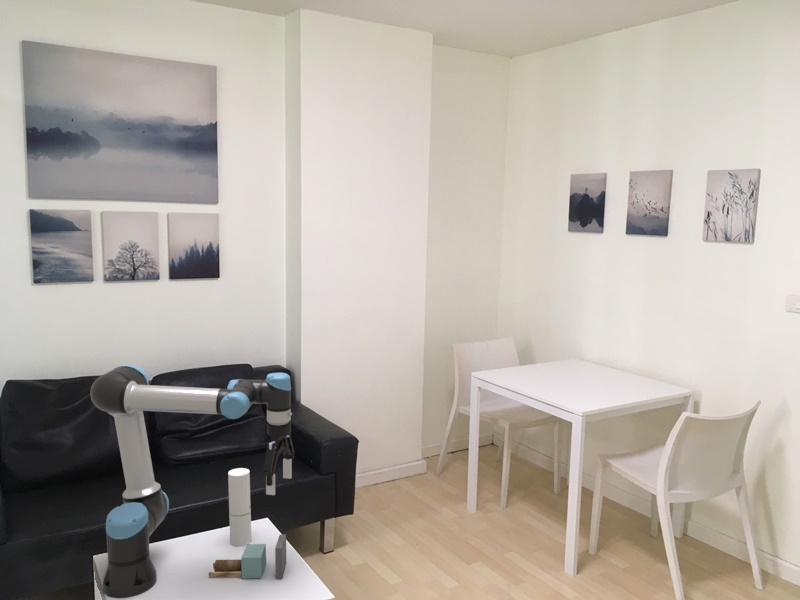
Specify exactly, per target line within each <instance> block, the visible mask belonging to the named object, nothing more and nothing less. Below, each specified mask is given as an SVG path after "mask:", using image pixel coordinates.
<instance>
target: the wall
mask: <svg viewBox="0 0 800 600" xmlns="http://www.w3.org/2000/svg"><path fill="white" fill-rule="evenodd" d="M274 551H275V552H274V554H275V557H274V558H275V560H274V561H275V563H274V564H275V580H283V579H284V574H285V572H286V571H285V570H286V567H287V534H279V536H278V538H277V542H276V544H275V548H274Z"/></svg>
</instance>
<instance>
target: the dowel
mask: <svg viewBox="0 0 800 600" xmlns="http://www.w3.org/2000/svg"><path fill="white" fill-rule="evenodd" d="M214 563H215V566H214V568H213V572H233V571H241V573H242V567H241V559H216V560H215V561H214Z"/></svg>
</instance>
